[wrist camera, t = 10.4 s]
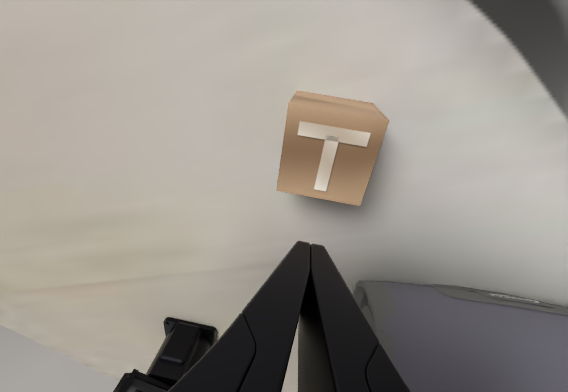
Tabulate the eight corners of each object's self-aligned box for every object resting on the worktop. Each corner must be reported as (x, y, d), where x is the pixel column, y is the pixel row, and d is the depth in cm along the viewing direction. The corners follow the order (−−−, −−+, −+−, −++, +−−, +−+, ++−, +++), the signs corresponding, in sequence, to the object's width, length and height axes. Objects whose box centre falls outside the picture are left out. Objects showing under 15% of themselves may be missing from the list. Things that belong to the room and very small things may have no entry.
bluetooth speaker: (341, 312, 27) (349, 434, 18) (361, 245, 22) (386, 366, 14) (570, 351, 25) (698, 506, 17) (644, 287, 21) (874, 456, 12)
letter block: (351, 171, 19) (360, 207, 15) (286, 159, 19) (276, 191, 15) (372, 102, 17) (389, 121, 12) (297, 90, 17) (288, 103, 13)
